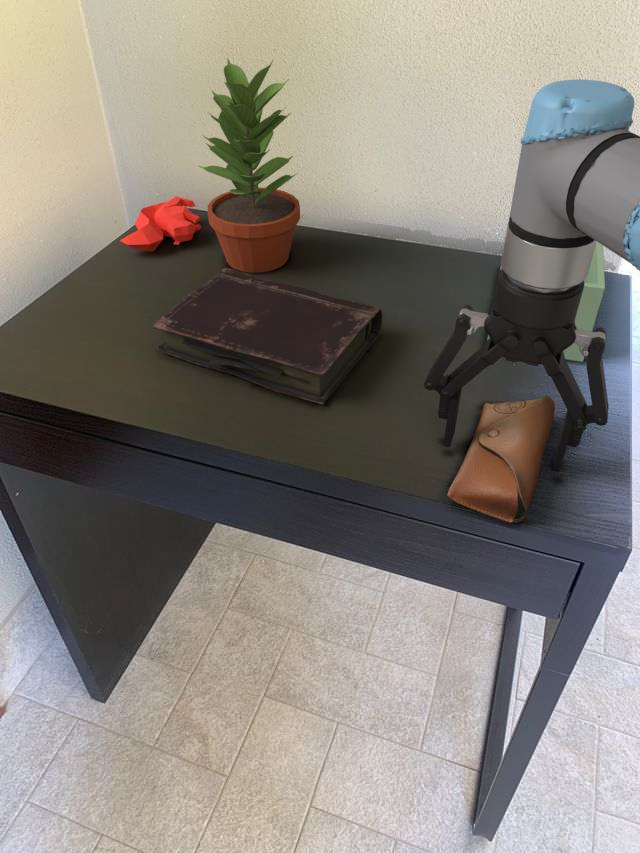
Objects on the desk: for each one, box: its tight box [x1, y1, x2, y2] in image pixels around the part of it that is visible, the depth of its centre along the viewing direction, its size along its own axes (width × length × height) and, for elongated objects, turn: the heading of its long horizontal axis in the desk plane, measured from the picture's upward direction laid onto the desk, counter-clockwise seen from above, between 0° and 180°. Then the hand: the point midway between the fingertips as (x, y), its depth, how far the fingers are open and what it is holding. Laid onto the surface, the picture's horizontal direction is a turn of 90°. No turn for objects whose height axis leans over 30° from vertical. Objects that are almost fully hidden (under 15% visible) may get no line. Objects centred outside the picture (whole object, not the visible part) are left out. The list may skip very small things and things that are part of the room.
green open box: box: [486, 242, 606, 363], centre depth 96 cm, size 23×13×11 cm, turn 164°
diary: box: [152, 267, 383, 406], centre depth 92 cm, size 19×25×5 cm
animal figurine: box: [119, 196, 202, 252], centre depth 116 cm, size 12×15×5 cm
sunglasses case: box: [446, 395, 556, 524], centre depth 75 cm, size 18×7×7 cm
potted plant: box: [198, 57, 301, 274], centre depth 102 cm, size 15×15×30 cm
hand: (501, 451), depth 76 cm, fingers open, 11 cm apart
